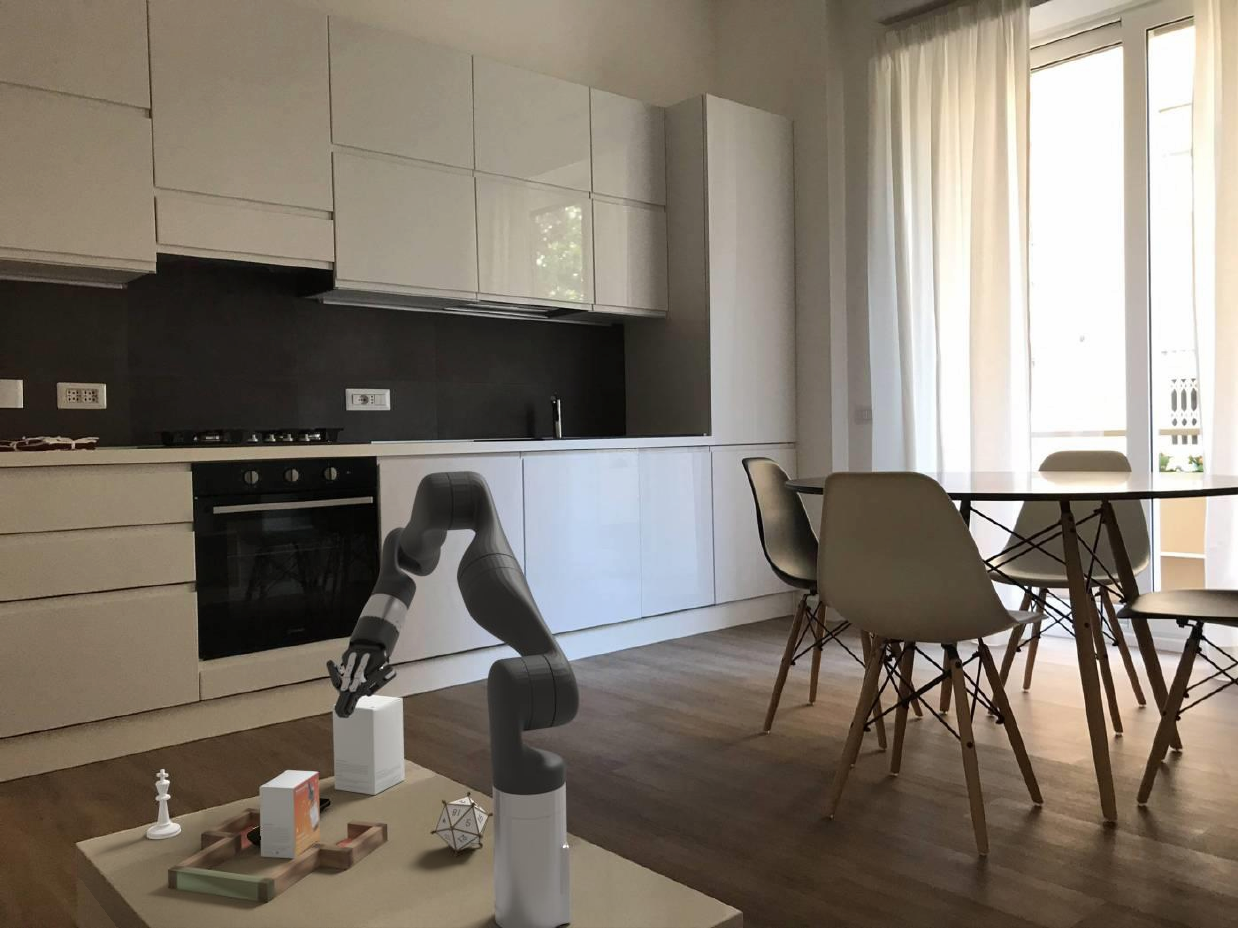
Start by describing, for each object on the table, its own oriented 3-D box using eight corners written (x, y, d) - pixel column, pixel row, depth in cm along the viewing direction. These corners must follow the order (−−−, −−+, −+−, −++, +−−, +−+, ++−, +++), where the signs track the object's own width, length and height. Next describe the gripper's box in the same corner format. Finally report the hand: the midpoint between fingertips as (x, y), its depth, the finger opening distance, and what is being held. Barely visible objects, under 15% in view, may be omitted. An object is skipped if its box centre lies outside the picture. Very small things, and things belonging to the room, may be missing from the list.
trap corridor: (248, 823, 164) (248, 807, 164) (387, 839, 157) (387, 823, 156) (141, 883, 142) (141, 865, 142) (297, 906, 135) (296, 887, 135)
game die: (451, 877, 152) (409, 829, 150) (471, 837, 159) (431, 791, 157) (495, 857, 148) (452, 808, 146) (513, 817, 156) (473, 769, 154)
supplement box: (406, 780, 184) (405, 696, 184) (374, 796, 176) (373, 709, 175) (365, 773, 188) (364, 692, 187) (332, 789, 180) (331, 704, 179)
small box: (294, 860, 150) (293, 788, 149) (259, 857, 151) (258, 786, 150) (321, 838, 157) (319, 770, 157) (287, 836, 159) (286, 768, 158)
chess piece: (169, 840, 158) (167, 775, 157) (139, 838, 158) (138, 774, 158) (187, 827, 163) (185, 765, 162) (158, 826, 163) (157, 764, 163)
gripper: (337, 612, 178) (296, 700, 166) (405, 615, 174) (368, 706, 163) (354, 636, 183) (315, 724, 172) (421, 640, 179) (386, 730, 168)
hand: (341, 715), depth 167 cm, fingers closed
